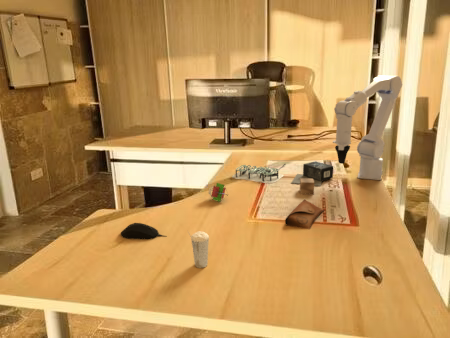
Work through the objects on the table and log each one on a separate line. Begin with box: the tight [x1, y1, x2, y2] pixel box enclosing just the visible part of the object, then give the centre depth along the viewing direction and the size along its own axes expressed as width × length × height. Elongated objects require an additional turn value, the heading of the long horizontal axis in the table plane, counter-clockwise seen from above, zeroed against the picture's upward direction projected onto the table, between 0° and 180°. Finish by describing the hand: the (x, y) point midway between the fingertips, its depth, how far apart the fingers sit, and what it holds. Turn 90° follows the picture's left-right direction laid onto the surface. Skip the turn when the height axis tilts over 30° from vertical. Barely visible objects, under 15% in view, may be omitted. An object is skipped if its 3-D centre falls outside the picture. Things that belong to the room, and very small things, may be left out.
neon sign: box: [231, 163, 286, 184], centre depth 177 cm, size 21×4×29 cm
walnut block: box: [299, 178, 315, 196], centre depth 150 cm, size 5×5×5 cm
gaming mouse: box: [120, 222, 168, 240], centre depth 117 cm, size 6×15×4 cm, turn 80°
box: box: [302, 160, 334, 182], centre depth 166 cm, size 8×6×11 cm
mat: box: [290, 173, 323, 187], centre depth 164 cm, size 12×13×1 cm
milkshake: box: [187, 230, 210, 269], centre depth 98 cm, size 4×5×10 cm
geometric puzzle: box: [208, 182, 229, 203], centre depth 143 cm, size 7×7×8 cm
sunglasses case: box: [284, 198, 325, 230], centre depth 127 cm, size 18×7×7 cm, turn 152°
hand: (341, 163), depth 157 cm, fingers closed
